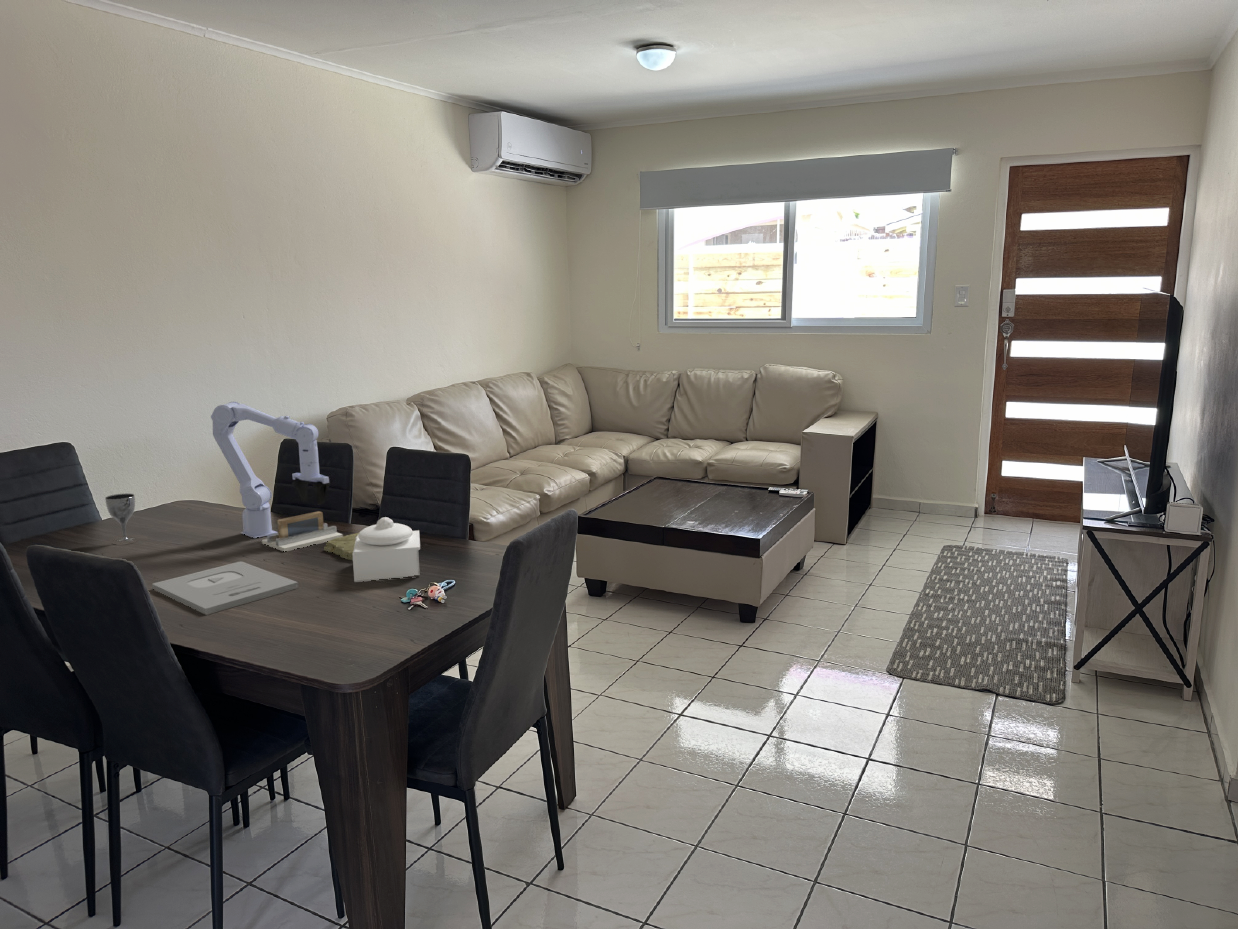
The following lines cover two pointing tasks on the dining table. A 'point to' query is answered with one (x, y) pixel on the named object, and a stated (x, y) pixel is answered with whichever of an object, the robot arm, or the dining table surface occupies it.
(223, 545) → the dining table surface
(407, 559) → the butter dish
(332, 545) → the mossy green slab
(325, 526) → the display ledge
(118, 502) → the wine glass
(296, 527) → the tan wooden frame
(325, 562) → the dining table surface
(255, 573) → the award plaque
